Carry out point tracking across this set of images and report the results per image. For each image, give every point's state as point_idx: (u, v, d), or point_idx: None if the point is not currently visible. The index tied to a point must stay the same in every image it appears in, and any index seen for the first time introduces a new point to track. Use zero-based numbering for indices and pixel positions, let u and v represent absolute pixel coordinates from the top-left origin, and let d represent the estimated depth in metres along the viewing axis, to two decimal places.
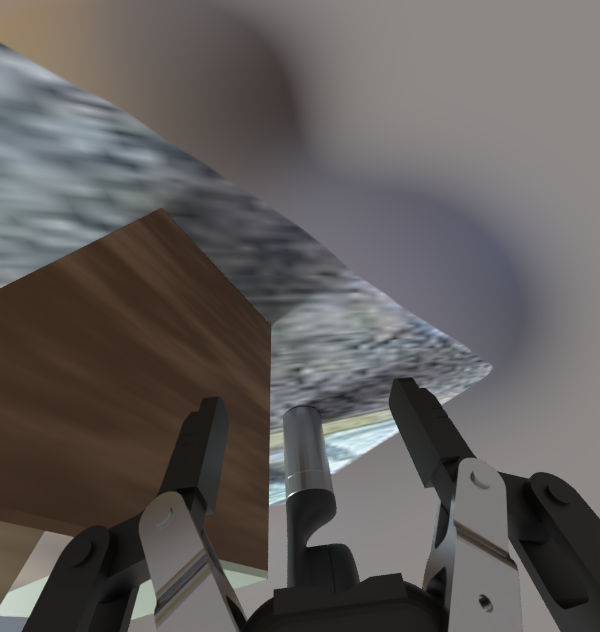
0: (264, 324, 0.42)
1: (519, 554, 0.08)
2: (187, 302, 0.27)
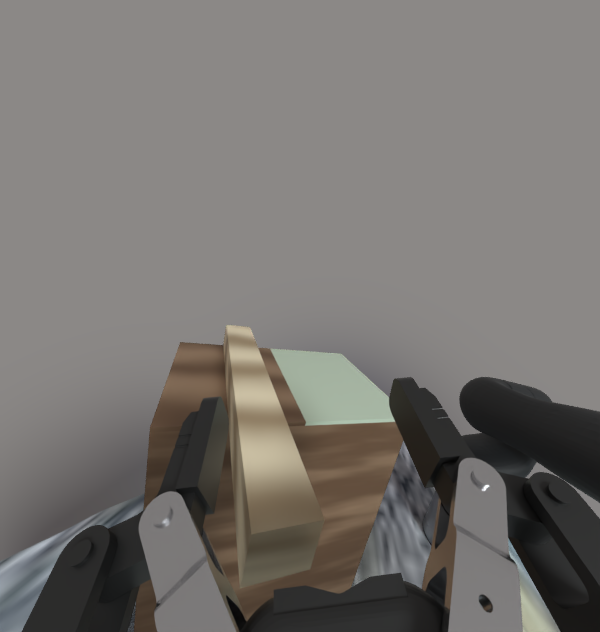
0: None
1: (519, 554, 0.08)
2: None
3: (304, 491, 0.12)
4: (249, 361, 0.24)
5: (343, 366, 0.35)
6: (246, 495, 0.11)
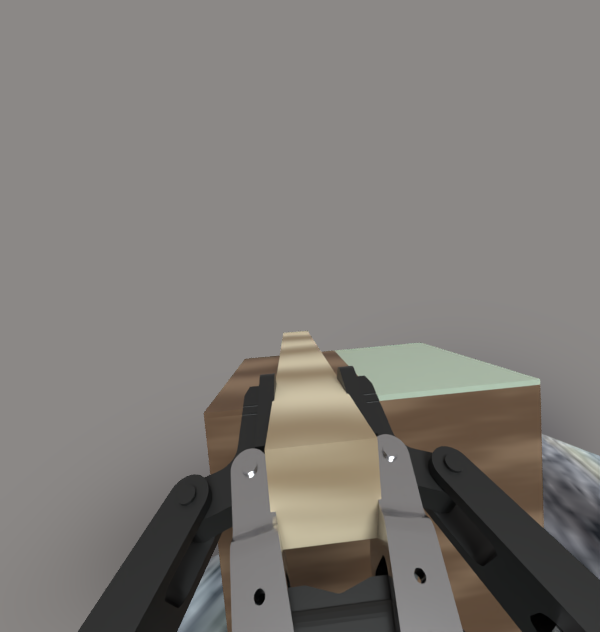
0: None
1: (441, 528, 0.08)
2: None
3: (349, 417, 0.08)
4: (301, 346, 0.22)
5: (425, 350, 0.29)
6: (269, 423, 0.09)
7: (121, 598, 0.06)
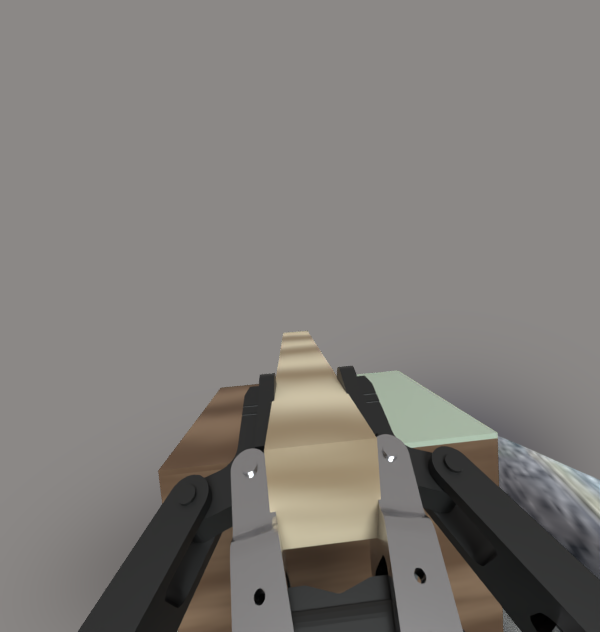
0: None
1: (440, 527, 0.08)
2: None
3: (349, 417, 0.08)
4: (301, 346, 0.22)
5: (398, 383, 0.29)
6: (269, 423, 0.09)
7: (121, 598, 0.06)
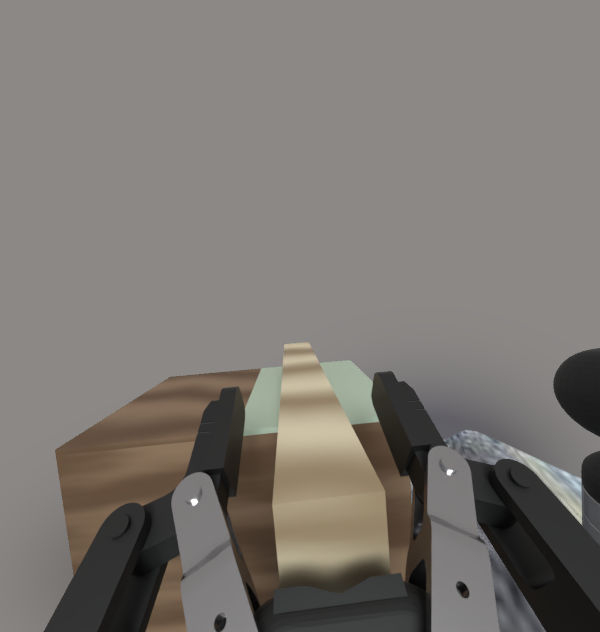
0: None
1: (491, 541, 0.08)
2: None
3: (355, 461, 0.08)
4: (303, 362, 0.22)
5: (342, 371, 0.29)
6: (275, 467, 0.09)
7: None
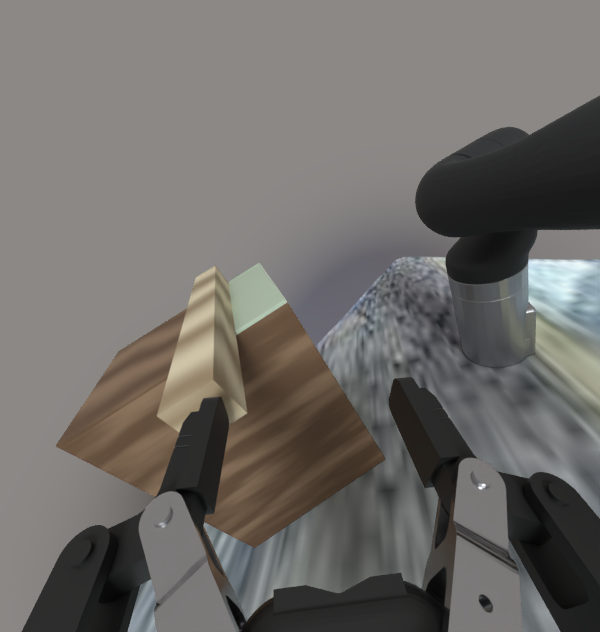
0: None
1: (519, 554, 0.08)
2: None
3: (206, 368, 0.13)
4: (203, 295, 0.25)
5: (251, 278, 0.32)
6: None
7: None
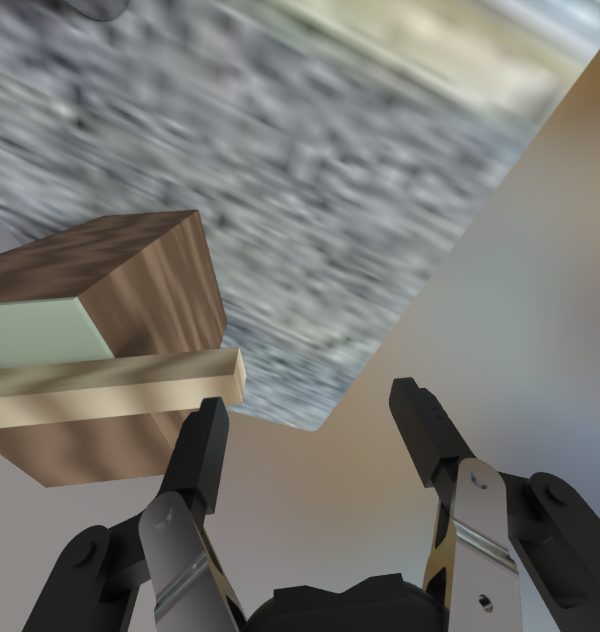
0: None
1: (519, 555, 0.08)
2: None
3: (215, 380, 0.18)
4: (22, 409, 0.18)
5: None
6: None
7: None
